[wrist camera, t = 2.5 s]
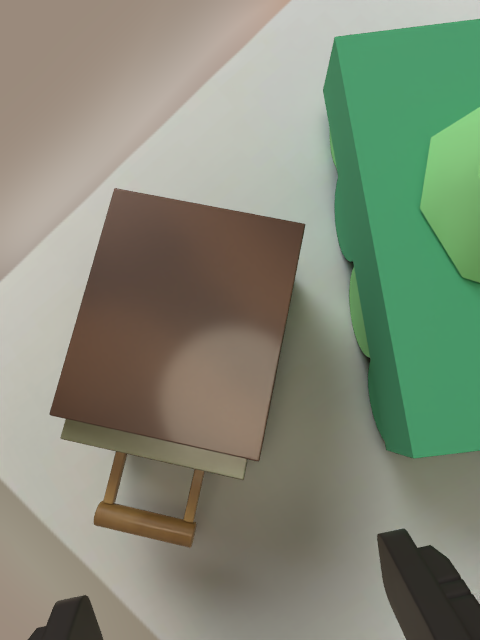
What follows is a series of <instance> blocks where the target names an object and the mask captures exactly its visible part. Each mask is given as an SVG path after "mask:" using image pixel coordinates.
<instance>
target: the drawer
mask: <svg viewBox="0 0 480 640" xmlns="http://www.w3.org/2000/svg"><path fill="white" fill-rule="evenodd" d="M61 439H64V440H68V441H73V442H77V443H82V444H86V445H91V446H95V447H99V448H104V449H108V450H113V451H116V454H115V458H114V462H113V465H112V469H111V473H110V477H109V481H108V485H107V489H106V493H105V497H104V501H101V502H100V504H99V505H98V507H97V510H96V512H95V516H94V525H96V526H101V527H105V528H109V529H113V530H117V531H122V532H126V533H130V534H134V535H139V536H143V537H147V538H151V539H155V540H160V541H164V542H168V543H172V544H176V545H181V546H185V547H189V548H190V547H191V546H192V543H193V540H194V535H195V531H196V525H197V524H196V522H193V521H194V518H195V514H196V509H197V504H198V500H199V495H200V490H201V486H202V481H203V477H204V472H205V471H206V472H210V473H215V474H219V475H223V476H228V477H232V478H237V479H241V480H243V479H244V475H245V470H246V465H247V460H248V459H245V458H240V457H236V456H231V455H227V454H222V453H218V452H213V451H209V450H204V449H200V448H195V447H191V446H186V445H182V444H177V443H173V442H168V441H164V440H159V439H155V438H150V437H146V436H141V435H137V434H132V433H128V432H123V431H119V430H114V429H110V428H105V427H101V426H96V425H92V424H87V423H83V422H78V421H74V420H69V419H66V420H65V424H64V427H63V431H62V434H61ZM127 454H130V455H135V456H139V457H144V458H148V459H153V460H157V461H161V462H166V463H170V464H175V465H179V466H184V467H188V468H192V469H195V470H194V474H193V479H192V483H191V488H190V492H189V497H188V501H187V506H186V510H185V515H184V519H179V518H175V517H171V516H166V515H162V514H158V513H154V512H149V511H145V510H141V509H136V508H132V507H128V506H124V505H119V504H115V501H116V497H117V493H118V489H119V485H120V481H121V477H122V473H123V469H124V465H125V461H126V457H127Z"/></svg>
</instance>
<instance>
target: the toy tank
mask: <svg viewBox="0 0 480 640" xmlns="http://www.w3.org/2000/svg"><path fill="white" fill-rule="evenodd" d="M323 93H324V98H325V104H326V110H327V116H328V121H329V127H330V146H331V154H332V158H333V162H334V164H335V166H336V168H337V172H338V180H337V185H336V192H335V223H336V231H337V237H338V241H339V245H340V248H341V251H342V253H343V255H344V257H345V258H346V260H348V261H350V262H352V261H353V263H354V268H353V270H352V274H351V279H350V289H349V299H350V312H351V320H352V324H353V329H354V333H355V336H356V339H357V342H358V344H359V346H360V348H361V350H362V352H363V353H364V354H365V355H366V356H367V357H370V360H371V361H370V364H369V371H368V389H369V398H370V404H371V408H372V413H373V416H374V419H375V422H376V425H377V428H378V430H379V432H380V434H381V436H382V438H383V439H384V441H385V446H386V450H388V451H391V452H394V453H398V454H401V455H404V456H407V457H411V458H421V457H430V456H438V455H446V454H455V453H463V452H472V451H480V19H475V20H467V21H459V22H451V23H443V24H435V25H426V26H418V27H410V28H402V29H394V30H386V31H378V32H370V33H362V34H354V35H346V36H338V37H335V38H334V43H333V47H332V52H331V57H330V61H329V66H328V70H327V75H326V79H325V84H324V89H323Z"/></svg>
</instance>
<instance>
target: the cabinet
mask: <svg viewBox="0 0 480 640" xmlns="http://www.w3.org/2000/svg"><path fill="white" fill-rule="evenodd" d="M304 229H305V224H302V223H297V222H292V221H286V220H281V219H276V218H270V217H265V216H260V215H255V214H249V213H244V212H239V211H233V210H228V209H223V208H217V207H212V206H207V205H201V204H196V203H191V202H186V201H180V200H175V199H170V198H164V197H159V196H154V195H148V194H143V193H138V192H132V191H127V190H122V189H117V188H115V189H114V192H113V195H112V199H111V202H110V205H109V209H108V212H107V216H106V219H105V223H104V226H103V230H102V233H101V237H100V240H99V244H98V247H97V251H96V254H95V258H94V261H93V265H92V268H91V271H90V275H89V278H88V282H87V285H86V289H85V292H84V296H83V299H82V303H81V306H80V310H79V313H78V317H77V320H76V324H75V327H74V331H73V334H72V338H71V341H70V344H69V348H68V351H67V355H66V358H65V362H64V365H63V369H62V372H61V376H60V379H59V383H58V386H57V390H56V393H55V397H54V400H53V404H52V407H51V410H50V415H52V416H56V417H60V418H65V419H69V420H74V421H78V422H83V423H87V424H92V425H96V426H101V427H105V428H110V429H114V430H119V431H123V432H128V433H132V434H137V435H141V436H146V437H150V438H155V439H159V440H164V441H168V442H173V443H177V444H182V445H186V446H191V447H195V448H200V449H204V450H209V451H213V452H218V453H222V454H227V455H231V456H236V457H240V458H245V459H249V460H254V461H259V459H260V454H261V449H262V444H263V439H264V434H265V429H266V424H267V418H268V413H269V408H270V403H271V398H272V393H273V388H274V383H275V378H276V372H277V367H278V362H279V357H280V352H281V347H282V342H283V337H284V331H285V326H286V321H287V316H288V311H289V306H290V301H291V296H292V290H293V285H294V280H295V275H296V270H297V265H298V260H299V255H300V249H301V244H302V239H303V234H304Z"/></svg>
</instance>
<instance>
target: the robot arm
mask: <svg viewBox="0 0 480 640" xmlns="http://www.w3.org/2000/svg"><path fill="white" fill-rule="evenodd" d="M377 541H378V548H379V556H380V563H381V571H382V578H383V583H384V587H385V591H386V594H387V597H388V600H389V602H390V605H391V607H392V609H393V612H394V614H395V616H396V618H397V620H398V623H399V625H400V627H401V629H402V631H403V633H404V636H405V638H406V640H480V604H479V603H478V601H477V600H476V598H475V597H474V595H473V594H471V592H470V590H469V588H468V587H467V585H466V584H465V582H464V581H463V579H461V577H460V575H459V573H458V572H457V570H456V569H455V567H454V566H453V565H452V563H451V562H450V560H449V559H448V558H447V557H446V556H444V555H443V554H442V553H440V552H439V551H438V550H436V549H435V548H434V547H432V546H431V545H429V546H424V547H420V548H417V547H416V545H415V543H414V542H413V540H412V538H411V537H410V535H409V534H408V532H407V531H406V530H405V529H399V530H394V531H390V532H385V533H380V534H378V535H377ZM28 640H103V637H102V634H101V631H100V628H99V625H98V622H97V620H96V617H95V614H94V611H93V608H92V605H91V602H90V600H89V598H88V596H86V595H84V596H79V597H74V598H70V599H65V600H61V601H57V602H56V603H55V605H54V607H53V610H52V612H51V615H50V618H49V620H48V622H47V625H46V626H44V627H40V628H37V629H36V630H35V631H34V633H33V634H32V635H31V636H30V638H29V639H28Z"/></svg>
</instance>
